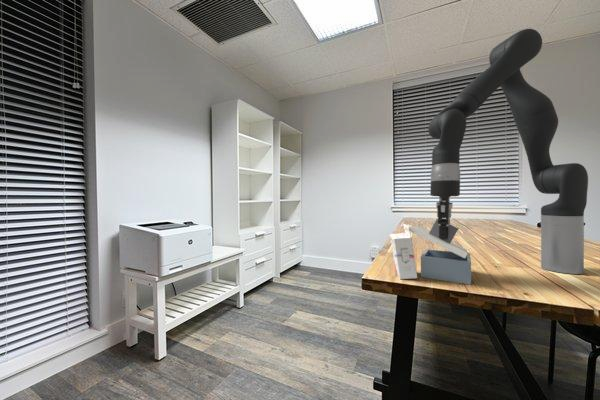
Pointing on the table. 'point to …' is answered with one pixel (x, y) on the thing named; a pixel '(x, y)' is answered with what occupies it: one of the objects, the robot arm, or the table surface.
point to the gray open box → (446, 266)
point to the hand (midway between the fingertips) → (443, 238)
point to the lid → (444, 243)
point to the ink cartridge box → (403, 254)
